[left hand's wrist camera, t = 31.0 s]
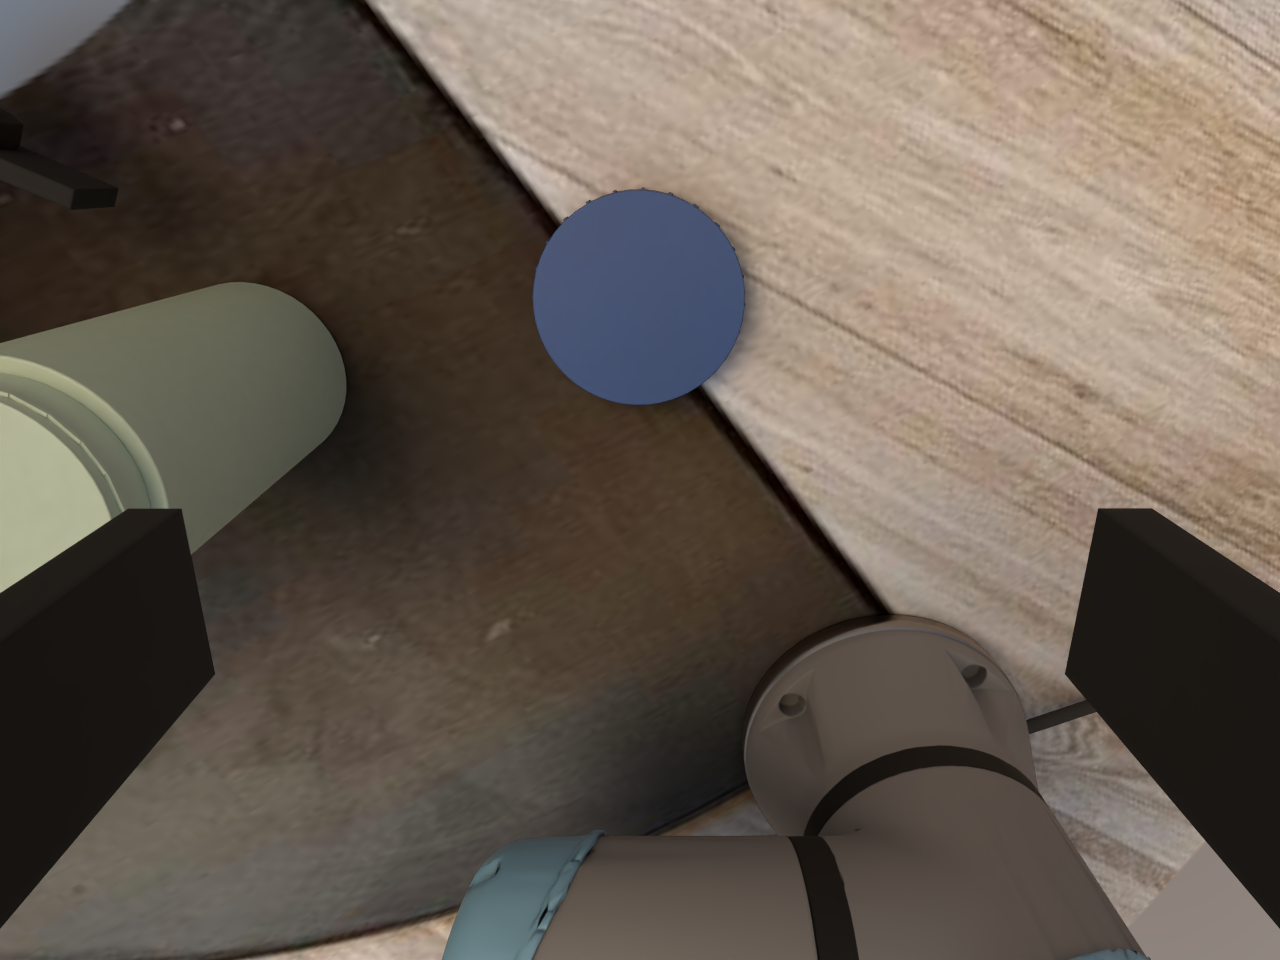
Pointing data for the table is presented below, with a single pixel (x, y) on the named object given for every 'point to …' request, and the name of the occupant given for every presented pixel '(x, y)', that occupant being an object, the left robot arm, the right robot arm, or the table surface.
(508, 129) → the table surface
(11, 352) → the jar
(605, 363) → the lid
